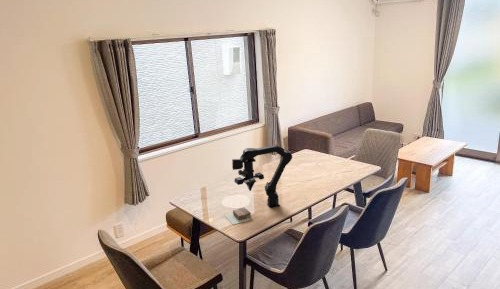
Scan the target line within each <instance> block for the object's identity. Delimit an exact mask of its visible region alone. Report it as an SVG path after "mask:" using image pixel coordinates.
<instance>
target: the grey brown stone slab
mask: <svg viewBox="0 0 500 289" xmlns="http://www.w3.org/2000/svg"><path fill="white" fill-rule="evenodd" d="M232 213H233V215H234V216H235V217H236V218H237V219H238V220H243V219H246V218H250V219H251V217H252V216H251V215H252V214H251V212H250V210H248V209H247V208H246V207H240V208H237V209H233V210H232Z"/></svg>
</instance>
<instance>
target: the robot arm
mask: <svg viewBox="0 0 500 289" xmlns="http://www.w3.org/2000/svg"><path fill="white" fill-rule="evenodd" d="M272 153H277V154H278V155H279V156H280V158H279V163H278V165H277V167H276V170H275V171H274V174H273V176H272V178H271V180H270V181H269V182H268V181H267V182H266V184H265V185H264V191H265V194H266V196H267V199H266V200H267V203H266V205H267V206H268V207H270V209H273V208H277V207H280V206H281V205H280V203H279V195H278V192H277V186H278V185H277V184H278V183H279V181H280V179H281V176H282V174H283V172H284V170H285V168H286V166H288V164H289V163H291V161H292V159H293V154H292V152H291V151H290V150H289V149H285V148H283V147H282V146H279V145H278V144H273V145H269V146H263V147H258V148H255V147H246V148H244V149H243V151H242V154H241V156H240V157H239V158H232V160H231V161H232V162H231V166H232V171H237V170H238V171H237V172H238V176H239V177H238V176H237V177H235V178H234V183H235V184H236V185H238V186H240V185H243V184H245V185H246V186H247V189H248V191H249V192H251V191H252V189H253V188H254V185H255V184H256V183H257V180H256V179H259V180H264V179H265V175H264V174H263V173H262V172H256V173H255V170H254V162H257V161H256V157H257V156H263V155H267V154H268V155H269V154H272ZM242 169H243V170H242ZM242 177H243V178H242Z"/></svg>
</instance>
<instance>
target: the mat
mask: <svg viewBox="0 0 500 289" xmlns="http://www.w3.org/2000/svg"><path fill="white" fill-rule="evenodd" d="M224 217H225V218H226V220H228V221H229V223H230V224H232V226H235V225H237V224H242V223H245V222H249V221H251V220H252V219H251V217H250V218H246V219H243V220H238V219H237V218H236V217H235V216H234V215H233V212H231V213H228V214H224Z"/></svg>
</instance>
